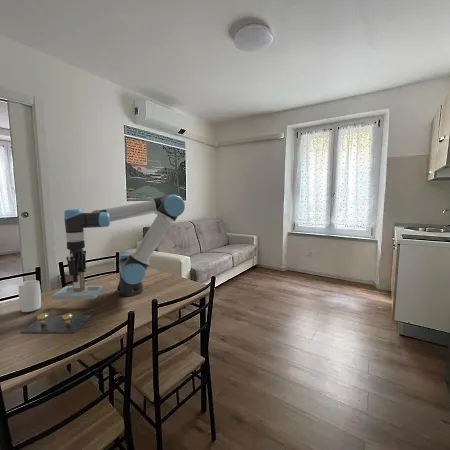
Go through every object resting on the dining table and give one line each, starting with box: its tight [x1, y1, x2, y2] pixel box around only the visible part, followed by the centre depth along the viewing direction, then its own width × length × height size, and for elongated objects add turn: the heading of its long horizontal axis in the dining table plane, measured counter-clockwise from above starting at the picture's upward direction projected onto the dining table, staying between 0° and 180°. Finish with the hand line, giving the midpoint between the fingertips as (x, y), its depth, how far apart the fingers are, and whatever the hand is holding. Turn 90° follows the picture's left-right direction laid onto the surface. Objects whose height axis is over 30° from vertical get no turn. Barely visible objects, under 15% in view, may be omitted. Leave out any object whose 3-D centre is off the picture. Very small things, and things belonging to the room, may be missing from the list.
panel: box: [50, 272, 106, 301], centre depth 123 cm, size 12×20×11 cm, turn 92°
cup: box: [18, 279, 42, 313], centre depth 120 cm, size 8×8×14 cm
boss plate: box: [20, 312, 93, 334], centre depth 109 cm, size 22×14×5 cm, turn 92°
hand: (79, 286), depth 123 cm, fingers closed on panel, 3 cm apart
